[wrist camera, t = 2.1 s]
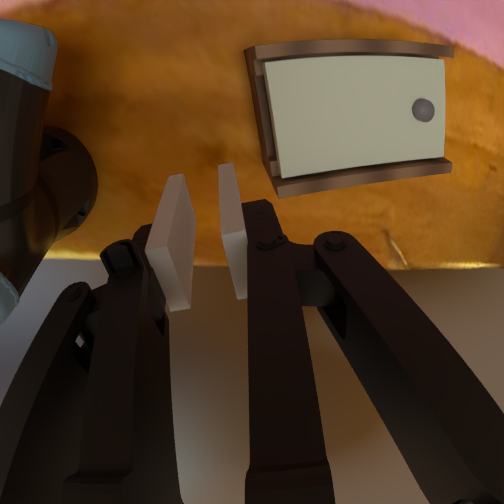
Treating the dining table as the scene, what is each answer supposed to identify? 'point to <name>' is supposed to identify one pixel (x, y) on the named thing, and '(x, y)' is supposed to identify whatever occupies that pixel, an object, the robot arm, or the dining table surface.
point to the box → (346, 175)
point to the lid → (354, 111)
